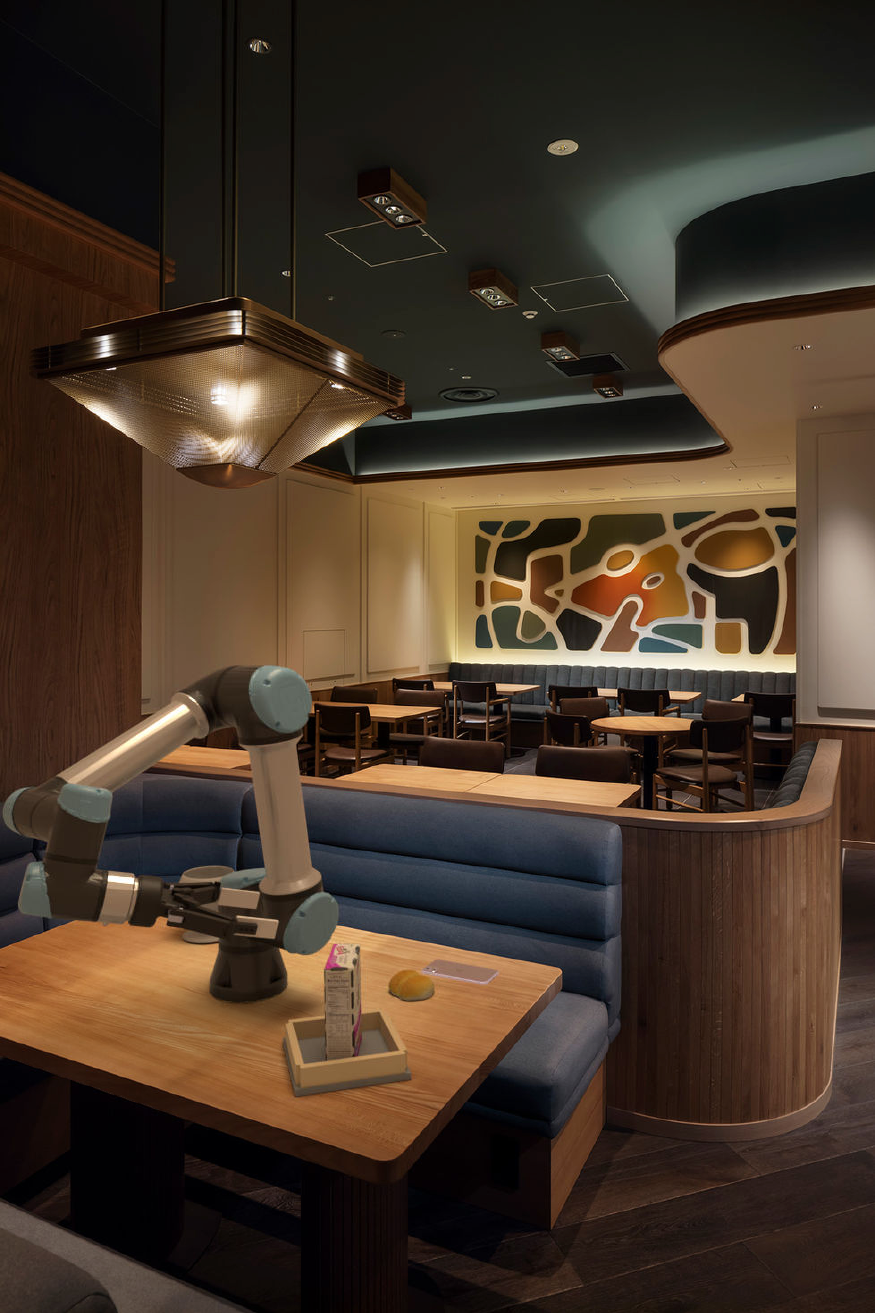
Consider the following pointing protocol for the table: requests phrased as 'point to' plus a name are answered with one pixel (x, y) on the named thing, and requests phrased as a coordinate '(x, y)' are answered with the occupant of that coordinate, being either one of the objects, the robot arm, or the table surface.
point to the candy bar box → (343, 1002)
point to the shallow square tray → (374, 1064)
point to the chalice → (204, 876)
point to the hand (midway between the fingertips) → (266, 914)
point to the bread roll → (411, 985)
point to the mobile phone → (460, 971)
